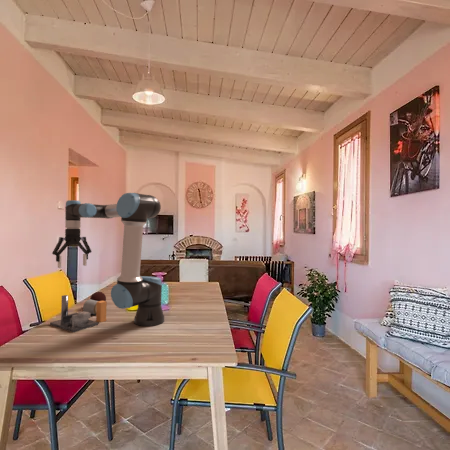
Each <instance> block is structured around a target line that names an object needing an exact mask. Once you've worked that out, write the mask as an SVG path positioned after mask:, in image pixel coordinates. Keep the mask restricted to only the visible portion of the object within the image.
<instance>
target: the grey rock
mask: <svg viewBox="0 0 450 450" xmlns="http://www.w3.org/2000/svg"><path fill="white" fill-rule="evenodd" d="M77 313H78V314H77V315H73V316H72V326H73V327H74V326H77V325H81V324H84V323H87V322H88V321H89V320H90V319H91V318H92V317H91V315H92V314H91V313H89V312H85V311H83V310H82V311H79V312H77Z"/></svg>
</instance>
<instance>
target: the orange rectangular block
mask: <svg viewBox="0 0 450 450" xmlns="http://www.w3.org/2000/svg"><path fill="white" fill-rule="evenodd" d="M107 304H108V303H107V300H106V301H98V302H97V307H96V315H95V317H96V319H95V322H98V323H99V324H100V323H104V322H106V321H107V306H108V305H107Z"/></svg>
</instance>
